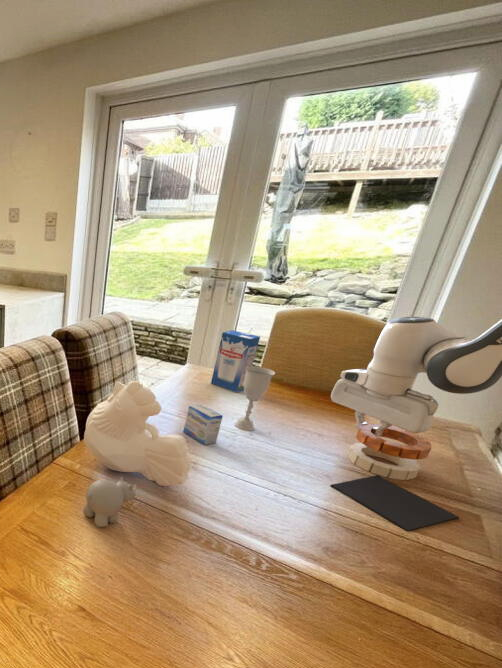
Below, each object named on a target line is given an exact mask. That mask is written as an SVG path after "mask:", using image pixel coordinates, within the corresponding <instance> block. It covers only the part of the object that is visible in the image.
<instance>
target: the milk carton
mask: <svg viewBox="0 0 502 668" xmlns="http://www.w3.org/2000/svg"><path fill="white" fill-rule="evenodd" d="M260 339H261V336H260V335H255V334H251V333H248V332H247V333H246V332H242V331H237V330H233V329H232V330H228V331H223V332H222V333H221V338H220V342H219V345H218V350H217V354H216V359H215V362H214V366H213V367H214V368H213V372H212V377H211V380H210V384H211V383H213V384H212V385H214V384H215V385H214V386H217V385H218V386H217V387H219V388H222V387H223V389H225V388H226V390H228V389H229V391H231V390H232V391H231V392H234V391H235V392H234V393H239V392H241V390H242V391H244V380H245V376H246V372H247V371H246V367H247V366H254V362H255V357H256V353H257V350H258V346H259V342H260ZM238 391H239V392H238Z"/></svg>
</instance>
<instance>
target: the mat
mask: <svg viewBox="0 0 502 668" xmlns="http://www.w3.org/2000/svg"><path fill="white" fill-rule="evenodd" d="M330 487H331V488H332V489H334V490H336V491H338V492H339V493H341V494H343V495H345V496H347V498H350V499H352V500H353V501H355V502H356V503H358V504H360V505H362V506H363V507H365V508H367V509H368V510H371V511H372V512H373V513H376V514H377V515H379V516H381V517H382V518H383V519H385V520H387V521H389V522H390V523H392V524H394V525H395V526H397V527H398V528H400V529H402V530H404V531H406V532H407V533H409V532H411V531H416V530H419V529H424V528H427V527H430V526H434V525H438V524H442V523H446V522H449V521H453V520H457V519H459V518H460V516H459V515H457V514H454V513H453V512H451V511H449V510H447V509H445V508H443V507H442V506H439V505H437V504H435V503H434V502H432V501H429V500H428V499H426V498H423V497H421V496H419V495H417V494H416V493H414V492H412V491H410V490H408V489H406V488H404V487H402V486H400V485H398V484H396V483H394V482H392V481H390V480H388V479H387V478H385V477H384V476H381V475H377V474H375V475H370V476H366V477H362V478H356V479H351V480H348V481H342V482H337V483H333V484H330Z"/></svg>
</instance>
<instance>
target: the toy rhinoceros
mask: <svg viewBox="0 0 502 668" xmlns="http://www.w3.org/2000/svg"><path fill="white" fill-rule="evenodd" d="M136 490H137V485H136V483H134V484H130V483H128V482H127V481H125V480H124V476H120V478H119V480H118V482H114V481H112V480H109V479H98V480H96V481H94V482H92V483H91V484H90V485H89V487H88V488H87V490H86V496H85V497H86V498H85V499H86V503H85V505H84V506H83V510H82V512H83V515H84V516H86V517H88V518H94V525H95V526H96V527H98V528H106V527H108V524H109V523H111V524H116V523H118V521H119V519H120V518H119V517H120V515H119V512H120V510H121V509H122V508H123V505H124V503H127V502H130V501H133V500H134V499H135V497H136V496H137V495H136Z"/></svg>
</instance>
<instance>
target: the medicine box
mask: <svg viewBox="0 0 502 668" xmlns="http://www.w3.org/2000/svg"><path fill="white" fill-rule="evenodd" d="M223 416H224V415H222V414H221V413H219V412H217V411H215V410H213V409H211V408H208V407H207V406H206V405H205V406H204V405H203V404H201V403H197V404H191V405H189V406H188V408H187V413H186V417H185V421H184V426H183V430H182V431H183V433H184V434H185V433H186V434H185V435H187V434H188V435H187V436H189V437H190V436H191V438H192V437H193V438H192V439H194V440H196V441H197V440H198V441H197V442H199V443H201V444H202V445H204V446H205V445H211V444H215V443H217V441H218V436H219V433H220V428H221V424H222V421H223ZM210 443H211V444H210Z"/></svg>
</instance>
